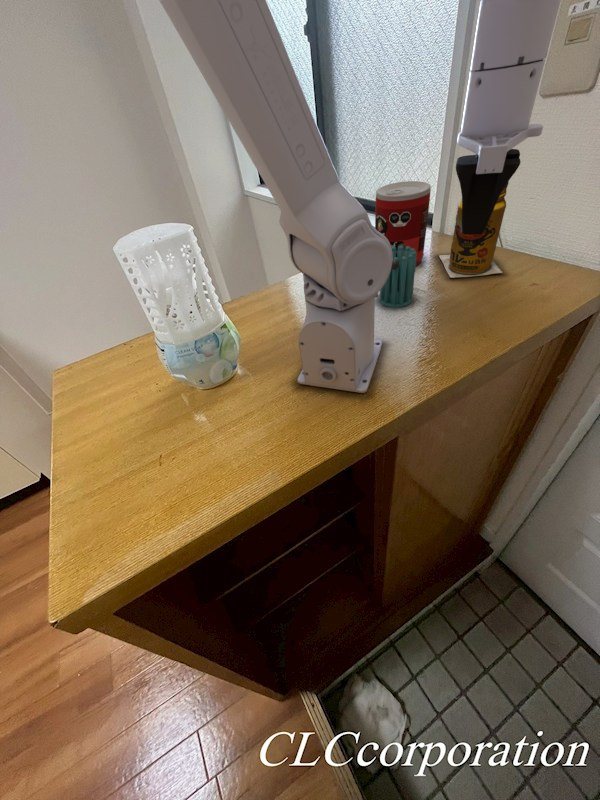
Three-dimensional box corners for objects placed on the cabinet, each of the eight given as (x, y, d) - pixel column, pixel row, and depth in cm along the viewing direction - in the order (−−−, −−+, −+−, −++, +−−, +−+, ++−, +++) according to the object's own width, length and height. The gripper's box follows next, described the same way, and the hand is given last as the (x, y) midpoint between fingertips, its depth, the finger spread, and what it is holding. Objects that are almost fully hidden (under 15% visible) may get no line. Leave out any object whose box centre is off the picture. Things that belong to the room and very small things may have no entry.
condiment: (450, 279, 52) (466, 189, 43) (438, 256, 58) (450, 173, 49) (502, 274, 50) (528, 180, 42) (484, 251, 56) (504, 166, 48)
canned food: (366, 261, 60) (365, 190, 53) (403, 248, 62) (408, 178, 54) (392, 275, 55) (396, 199, 47) (432, 261, 57) (442, 185, 49)
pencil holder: (408, 312, 47) (375, 310, 48) (415, 289, 51) (383, 288, 52) (413, 262, 42) (376, 261, 43) (420, 241, 46) (385, 242, 48)
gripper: (577, 61, 23) (516, 259, 33) (551, 53, 32) (509, 209, 42) (464, 78, 26) (438, 258, 35) (469, 66, 35) (448, 211, 44)
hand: (472, 232), depth 39 cm, fingers closed
